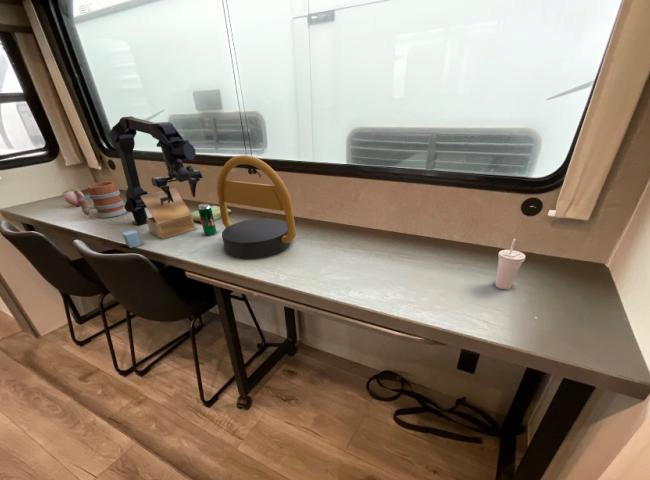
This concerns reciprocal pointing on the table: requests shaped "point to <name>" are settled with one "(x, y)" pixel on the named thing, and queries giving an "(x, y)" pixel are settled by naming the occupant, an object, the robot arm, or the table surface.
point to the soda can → (207, 219)
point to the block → (132, 238)
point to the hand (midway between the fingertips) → (183, 199)
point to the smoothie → (508, 266)
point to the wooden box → (171, 227)
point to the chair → (257, 233)
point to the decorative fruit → (72, 196)
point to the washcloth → (215, 213)
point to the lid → (166, 206)
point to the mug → (103, 200)
